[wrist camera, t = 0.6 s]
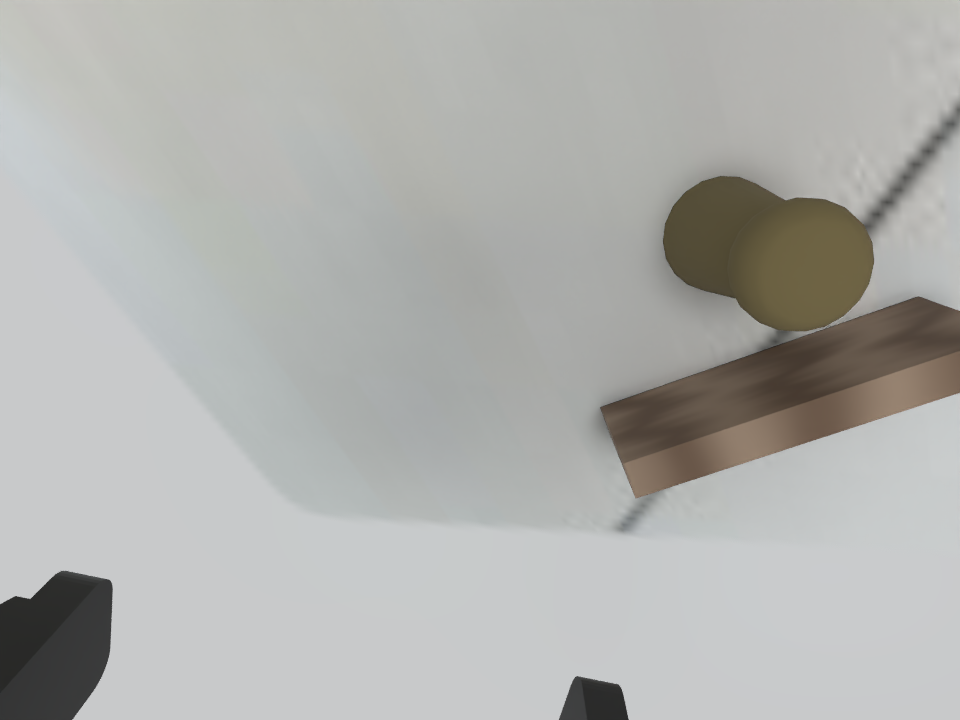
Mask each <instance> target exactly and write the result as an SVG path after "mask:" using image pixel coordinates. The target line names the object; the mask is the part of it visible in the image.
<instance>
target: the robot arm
mask: <svg viewBox="0 0 960 720" xmlns="http://www.w3.org/2000/svg"><path fill="white" fill-rule="evenodd" d="M112 590H113V589H112V583H111V581H110V580H107V579H103V578H98V577H93V576H88V575H83V574H78V573H73V572H68V571H61V572H59V573H57V574H56V575H55V576H54V577H52V578H51V579H50V580H49V581H48V582H47V583H46V584H45V585H44V586H43V587H42V588H41V589H40V590H39V591H38V592H37V593H36V594H35V595H34V596H33V597H32V598H31V599H27V598H22V597H17V596H15V597H13V598H11V599H9V600H7V601H6V602H4V603H2V604H0V720H72V719H73V718H74V717H75V715H76V714H77V713H78V711H79V710H80V708H81V707H82V706H83V704H84V703H85V702H86V700H87V699H88V697H89V696H90V695H91V693H92V692H93V691H94V689H95V688H96V686H97V684H98V682H99V681H100V679H101V677H102V674H103V672H104V669H105V667H106V664H107V661H108V658H109V653H110V639H111V615H112ZM559 720H629V719H628V715H627V710H626V706H625V701H624V696H623V692H622V689H621V687H620V686H619V685H618V684H613V683H608V682H603V681H598V680H593V679H588V678H583V677H578V676H577V677H575V678H574V680H573V682H572V684H571V687H570V690H569V693H568V695H567V698H566V701H565V704H564V707H563V710H562V713H561V715H560V718H559Z"/></svg>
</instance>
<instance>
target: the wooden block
mask: <svg viewBox="0 0 960 720" xmlns="http://www.w3.org/2000/svg"><path fill="white" fill-rule="evenodd" d="M957 393H960V311H958V310H955V309H952V308H949V307H947V306H944V305H941V304H938V303H935V302H932V301H930V300H927V299H924V298H921V297H916V298H913V299H910V300H907V301H904V302H902V303H899V304H896V305H893V306H890V307H887V308H884V309H882V310H879V311H876V312H873V313H870V314H867V315H864V316H861V317H859V318H856V319H853V320H850V321H847V322H844V323H841V324H838V325H836V326H833V327H830V328H827V329H824V330H821V331H818V332H815V333H813V334H810V335H807V336H804V337H801V338H798V339H795V340H793V341H790V342H787V343H784V344H781V345H778V346H775V347H772V348H770V349H767V350H764V351H761V352H758V353H755V354H752V355H749V356H747V357H744V358H741V359H738V360H735V361H732V362H729V363H726V364H724V365H721V366H718V367H715V368H712V369H709V370H706V371H703V372H701V373H698V374H695V375H692V376H689V377H686V378H683V379H681V380H678V381H675V382H672V383H669V384H666V385H663V386H660V387H658V388H655V389H652V390H649V391H646V392H643V393H640V394H637V395H635V396H632V397H629V398H626V399H623V400H620V401H617V402H614V403H612V404H609V405H606V406H603V407H600V408H601V411H602V413H603V416H604V419H605V422H606V424H607V427H608V430H609V433H610V435H611V438H612V441H613V443H614V446H615V448H616V451H617V453H618V456H619V458H620V460H621V463H622V465H623V468H624V470H625V473H626V475H627V478H628V480H629V483H630V485H631V488H632V490H633V493H634V495H635V498H638V497H642V496H645V495H648V494H651V493H654V492H657V491H660V490H663V489H666V488H669V487H672V486H675V485H678V484H681V483H684V482H687V481H691V480H694V479H697V478H700V477H703V476H706V475H709V474H712V473H715V472H718V471H721V470H724V469H727V468H730V467H733V466H736V465H740V464H743V463H746V462H749V461H752V460H755V459H758V458H761V457H764V456H767V455H770V454H773V453H776V452H779V451H782V450H785V449H789V448H792V447H795V446H798V445H801V444H804V443H807V442H810V441H813V440H816V439H819V438H822V437H825V436H828V435H831V434H835V433H838V432H841V431H844V430H847V429H850V428H853V427H856V426H859V425H862V424H865V423H868V422H871V421H874V420H877V419H880V418H884V417H887V416H890V415H893V414H896V413H899V412H902V411H905V410H908V409H911V408H914V407H917V406H920V405H923V404H926V403H929V402H933V401H936V400H939V399H942V398H945V397H948V396H951V395H954V394H957Z"/></svg>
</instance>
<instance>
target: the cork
mask: <svg viewBox="0 0 960 720" xmlns="http://www.w3.org/2000/svg"><path fill="white" fill-rule="evenodd" d="M663 244H664V250H665V255H666V259H667V261H668V263H669V264H670V266H671V268H672V270H673V271H674V273H675V274H676V275H677V276H678V277H680V278H681V279H682V280H683V281H684V282H685V283H687V284H688V285H691V286H693V287H696V288H699V289H701V290H704V291H708V292H712V293H716V294H720V295H724V296H728V297H732V298H736V299H737V301H738V303H739V305H740V307H741V308H742V309H744V310H745V311H746V312H747V313H748V314H749V315H751V316H752V317H753V318H754V319H755V320H757V321H758V322H760V323H762V324H764V325H767V326H769V327H772V328H775V329H777V330H785V331H809V330H813V329H817V328H821V327H825V326H827V325H828V324H830V323H832V322H834V321H836V320H837V319H839V318H841V317H843V316H844V315H845V314H846V313H847V312H848V311H849V310H850V309H851V308H852V307H853V306H854V305H855V304H856V303H857V302H858V301H859V300H860V298H861V297H862V295H863V293H864V291H865V290H866V288H867V286H868V284H869V282H870V278H871V273H872V269H873V265H874V256H873V245H872V241H871V239H870V237H869V235H868V233H867V231H866V228H865V226H864V225H863V224H862V223H861V222H860V221H859V220H858V219H857V218H856V217H855V216H854V215H853V214H852V213H850V212H849V211H848V210H847V209H846V208H845V207H842V206H840V205H837V204H835V203H832V202H830V201H828V200H824V199H814V198H794V199H790V200H787V201H785V200H784V199H782V198H780V197H778V196H777V195H775V194H773V193H771V192H769V191H768V190H766V189H764V188H762V187H761V186H759V185H757V184H755V183H753V182H750V181H748V180H745V179H743V178H740V177H727V176H720V177H716V178H712V179H709V180H705V181H702V182H700V183H699V184H697V185H696V186H694V187H693V188H691V189H689V190H688V191H686V192H685V193H684V195H683V196H682V197H681V198H680V199H679V200H678V201H677V203H676V204H675V205H674V206H673V208H672V210H671V212H670V214H669V217H668V219H667V221H666V223H665V230H664V238H663Z"/></svg>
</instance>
